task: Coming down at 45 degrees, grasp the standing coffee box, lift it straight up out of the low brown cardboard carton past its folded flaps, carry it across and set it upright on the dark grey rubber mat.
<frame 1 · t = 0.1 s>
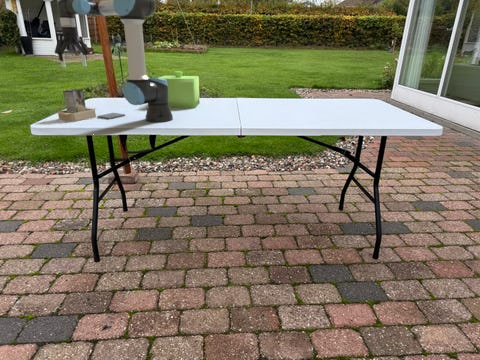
hand: (74, 66, 199), 28 cm above the table, tool pointing down, fingers open, 13 cm apart
canister: (179, 105, 245), on the table
mat: (111, 116, 205), on the table
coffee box: (77, 118, 200), resting in carton
carton: (77, 118, 200), on the table
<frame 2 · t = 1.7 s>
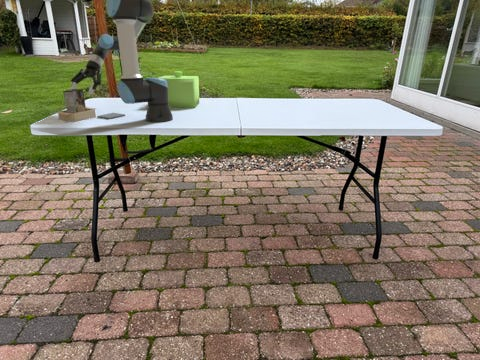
hand: (80, 93, 201), 13 cm above the table, tool tilted 45°, fingers open, 13 cm apart
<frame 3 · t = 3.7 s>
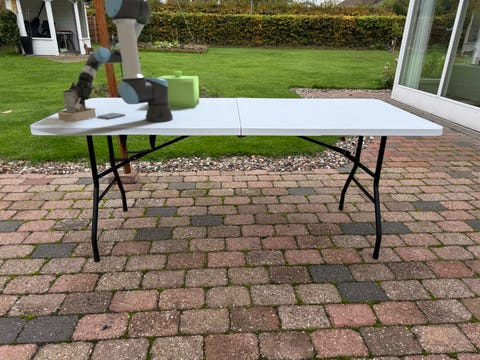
hand: (71, 108, 194), 6 cm above the table, tool tilted 45°, fingers closed on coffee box, 7 cm apart
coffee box: (77, 118, 200), resting in carton, touching gripper
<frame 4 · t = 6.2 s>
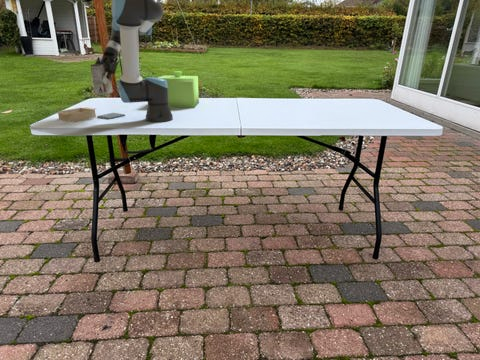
hand: (98, 82, 193), 20 cm above the table, tool tilted 45°, fingers closed on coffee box, 7 cm apart
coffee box: (104, 93, 199), point 13 cm above the table, touching gripper
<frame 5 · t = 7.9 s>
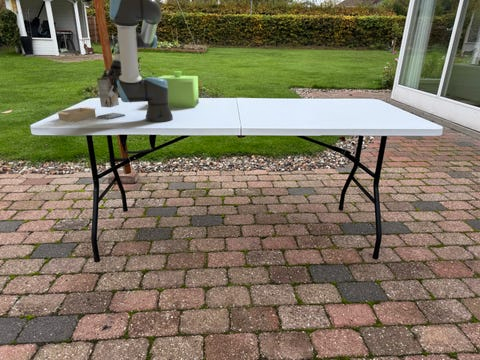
hand: (104, 95, 197), 13 cm above the table, tool tilted 45°, fingers closed on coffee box, 7 cm apart
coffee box: (110, 106, 203), point 6 cm above the table, touching gripper
when the fingers open (9 cm above the table, at t = 9.0 s): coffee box drops 1 cm, resting on mat.
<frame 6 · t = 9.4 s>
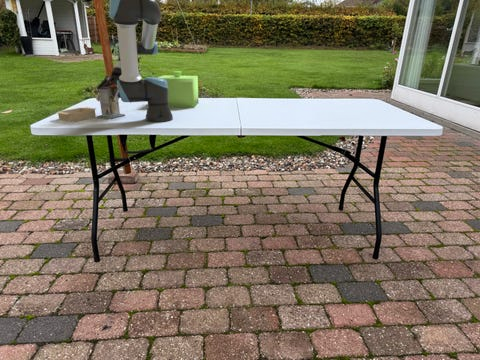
hand: (106, 100, 199), 10 cm above the table, tool tilted 45°, fingers open, 11 cm apart
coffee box: (111, 115, 204), point 1 cm above the table, touching mat
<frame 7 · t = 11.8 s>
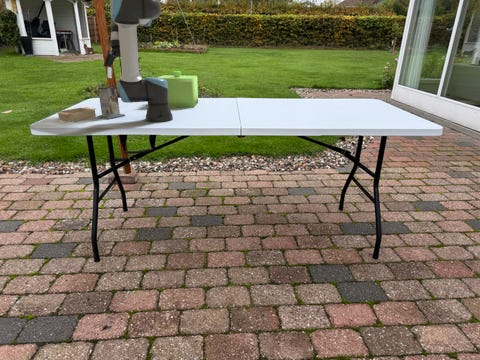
hand: (117, 76, 208), 22 cm above the table, tool tilted 20°, fingers open, 13 cm apart
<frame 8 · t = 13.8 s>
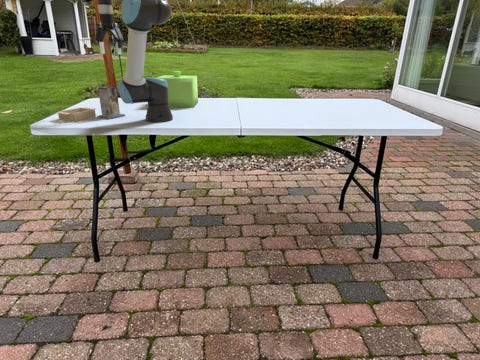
hand: (111, 54, 201), 35 cm above the table, tool pointing down, fingers open, 13 cm apart
at the end: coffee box inside the target area on the mat (0.3 cm from its centre), point 0.8 cm above the mat's base; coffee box tilted 0°; the gripper is holding nothing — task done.
